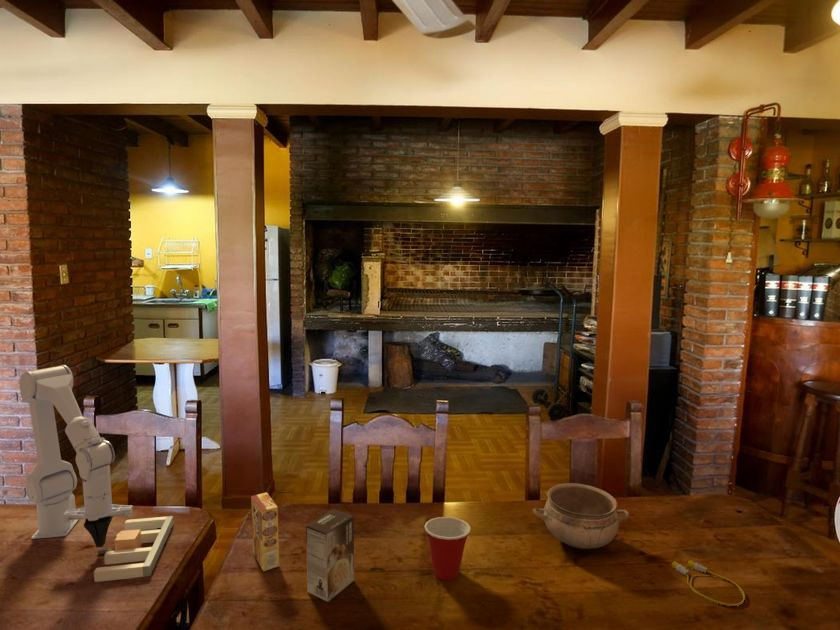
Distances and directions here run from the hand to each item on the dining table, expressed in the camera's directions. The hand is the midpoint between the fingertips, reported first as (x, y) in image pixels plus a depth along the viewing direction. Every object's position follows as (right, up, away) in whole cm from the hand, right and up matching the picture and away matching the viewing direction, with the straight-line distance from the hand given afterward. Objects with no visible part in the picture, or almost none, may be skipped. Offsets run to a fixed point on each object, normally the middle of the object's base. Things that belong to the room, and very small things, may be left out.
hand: (100, 545), depth 129 cm
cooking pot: (+120, -4, +10) cm, 121 cm away
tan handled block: (+4, -2, +1) cm, 5 cm away
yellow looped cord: (+146, -7, -6) cm, 146 cm away
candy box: (+41, -4, -1) cm, 41 cm away
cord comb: (+8, -2, +2) cm, 9 cm away
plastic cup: (+84, -5, -4) cm, 85 cm away
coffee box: (+58, -5, -10) cm, 59 cm away
